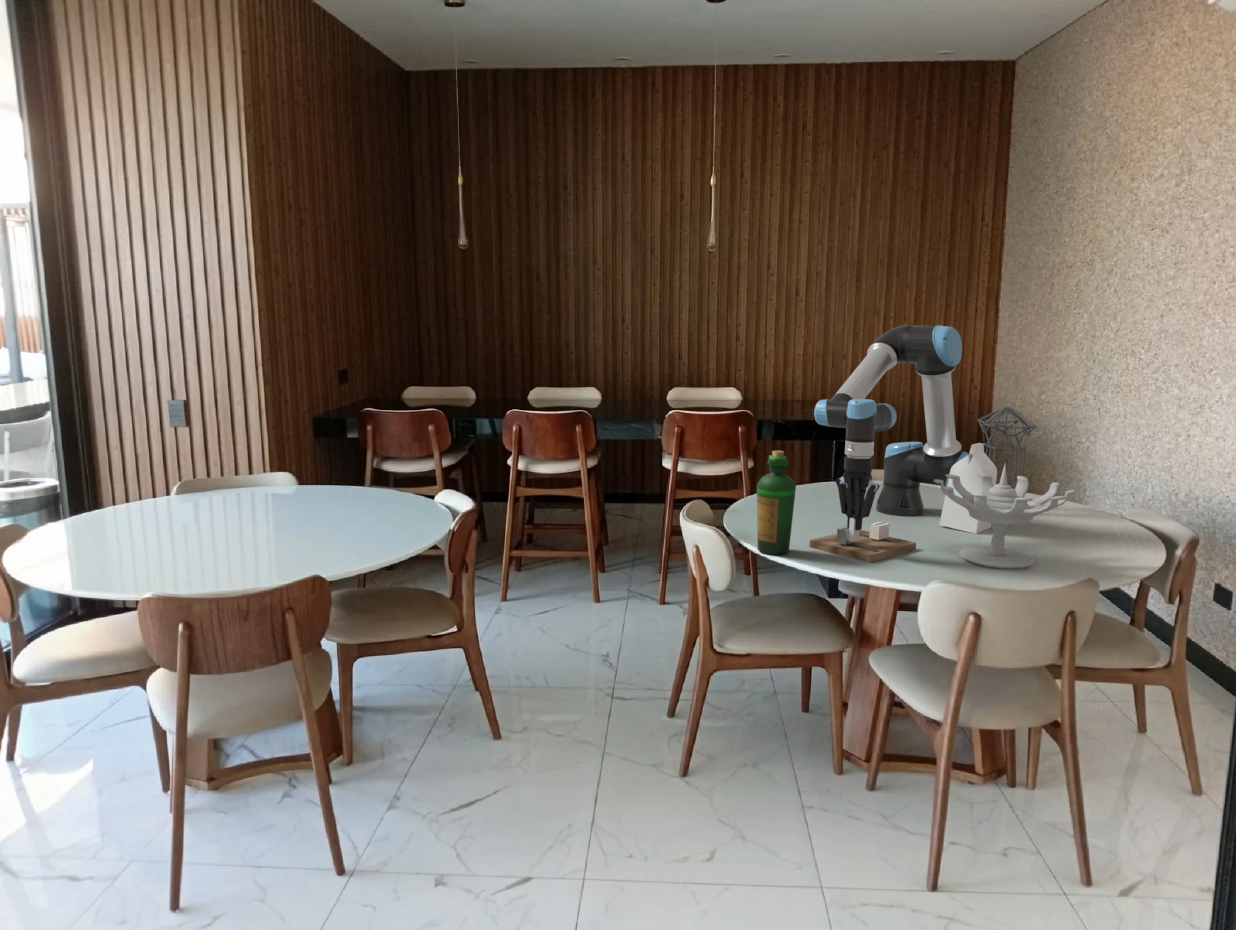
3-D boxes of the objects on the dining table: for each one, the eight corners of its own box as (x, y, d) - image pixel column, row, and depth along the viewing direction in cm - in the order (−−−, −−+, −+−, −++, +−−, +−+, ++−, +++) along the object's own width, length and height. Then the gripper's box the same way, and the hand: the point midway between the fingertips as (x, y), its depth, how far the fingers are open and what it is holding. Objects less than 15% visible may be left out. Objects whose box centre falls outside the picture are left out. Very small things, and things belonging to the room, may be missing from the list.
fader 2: (869, 537, 259) (870, 523, 258) (879, 535, 262) (880, 521, 261) (878, 540, 256) (879, 525, 256) (888, 537, 260) (889, 523, 259)
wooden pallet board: (809, 546, 257) (809, 539, 257) (855, 535, 271) (856, 528, 271) (869, 562, 242) (870, 555, 242) (915, 549, 256) (916, 542, 256)
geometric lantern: (968, 503, 318) (976, 403, 312) (1014, 505, 317) (1024, 405, 311) (981, 513, 303) (990, 408, 297) (1030, 515, 301) (1040, 410, 295)
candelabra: (913, 565, 241) (921, 463, 236) (947, 538, 269) (955, 447, 265) (1054, 588, 222) (1066, 479, 217) (1075, 557, 251) (1085, 459, 246)
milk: (954, 518, 292) (966, 439, 286) (990, 527, 284) (1003, 445, 279) (939, 524, 283) (951, 442, 277) (976, 533, 276) (989, 449, 270)
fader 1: (836, 542, 253) (837, 528, 252) (847, 539, 256) (848, 525, 255) (845, 544, 251) (846, 530, 250) (856, 542, 254) (857, 527, 253)
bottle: (751, 546, 257) (756, 447, 252) (789, 546, 257) (794, 448, 252) (756, 556, 247) (760, 454, 242) (795, 557, 246) (801, 455, 242)
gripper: (830, 454, 250) (825, 538, 254) (871, 461, 240) (865, 547, 244) (847, 451, 255) (842, 534, 259) (887, 458, 245) (881, 543, 249)
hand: (853, 540), depth 251 cm, fingers closed
